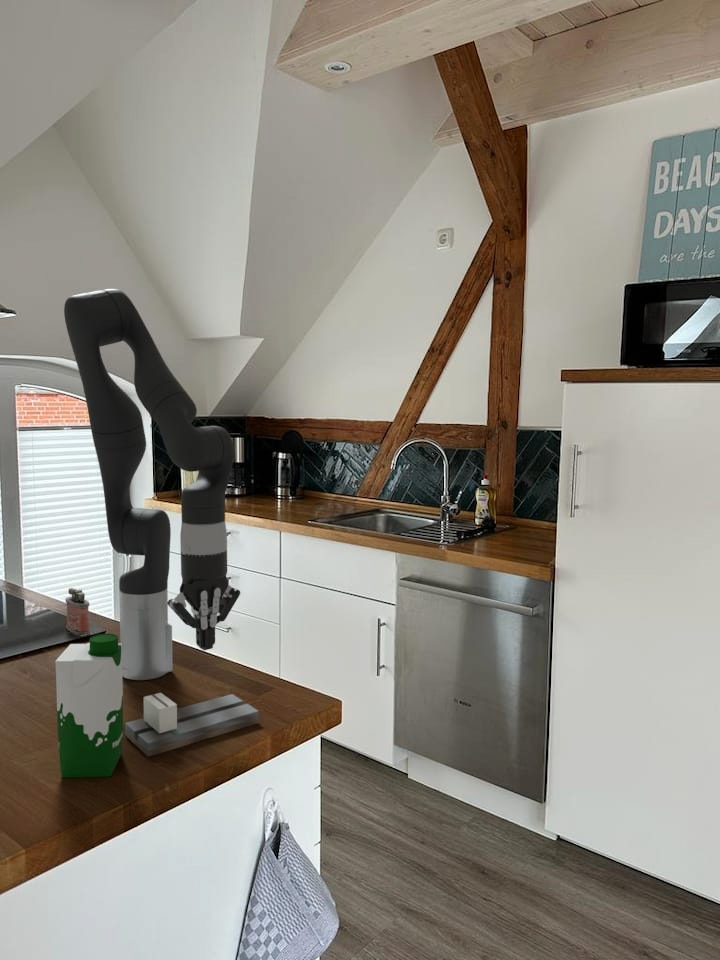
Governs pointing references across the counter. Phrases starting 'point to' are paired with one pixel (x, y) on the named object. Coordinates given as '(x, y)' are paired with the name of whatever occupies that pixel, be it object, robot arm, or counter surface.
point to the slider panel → (193, 724)
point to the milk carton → (90, 707)
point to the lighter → (77, 612)
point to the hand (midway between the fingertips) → (205, 648)
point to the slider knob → (160, 712)
